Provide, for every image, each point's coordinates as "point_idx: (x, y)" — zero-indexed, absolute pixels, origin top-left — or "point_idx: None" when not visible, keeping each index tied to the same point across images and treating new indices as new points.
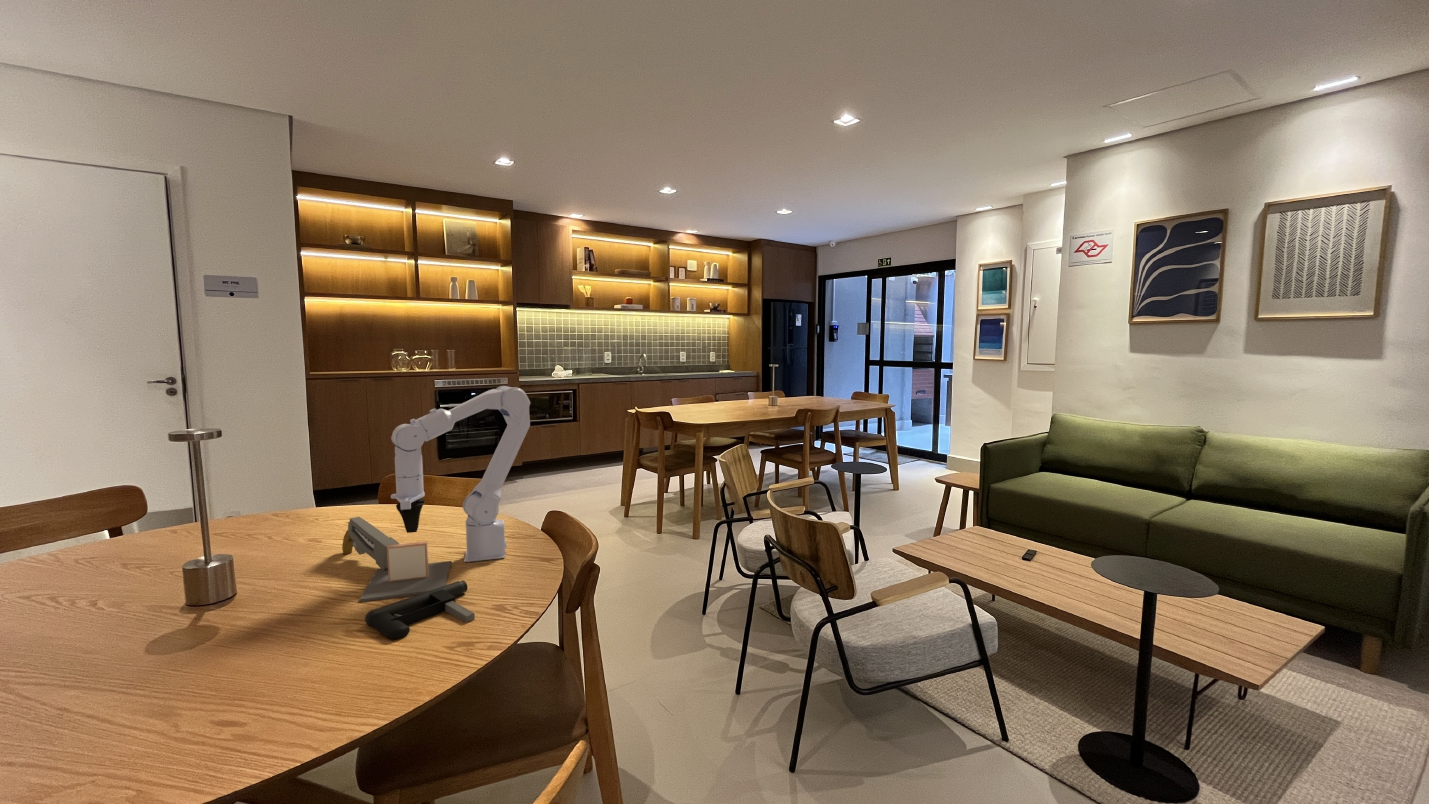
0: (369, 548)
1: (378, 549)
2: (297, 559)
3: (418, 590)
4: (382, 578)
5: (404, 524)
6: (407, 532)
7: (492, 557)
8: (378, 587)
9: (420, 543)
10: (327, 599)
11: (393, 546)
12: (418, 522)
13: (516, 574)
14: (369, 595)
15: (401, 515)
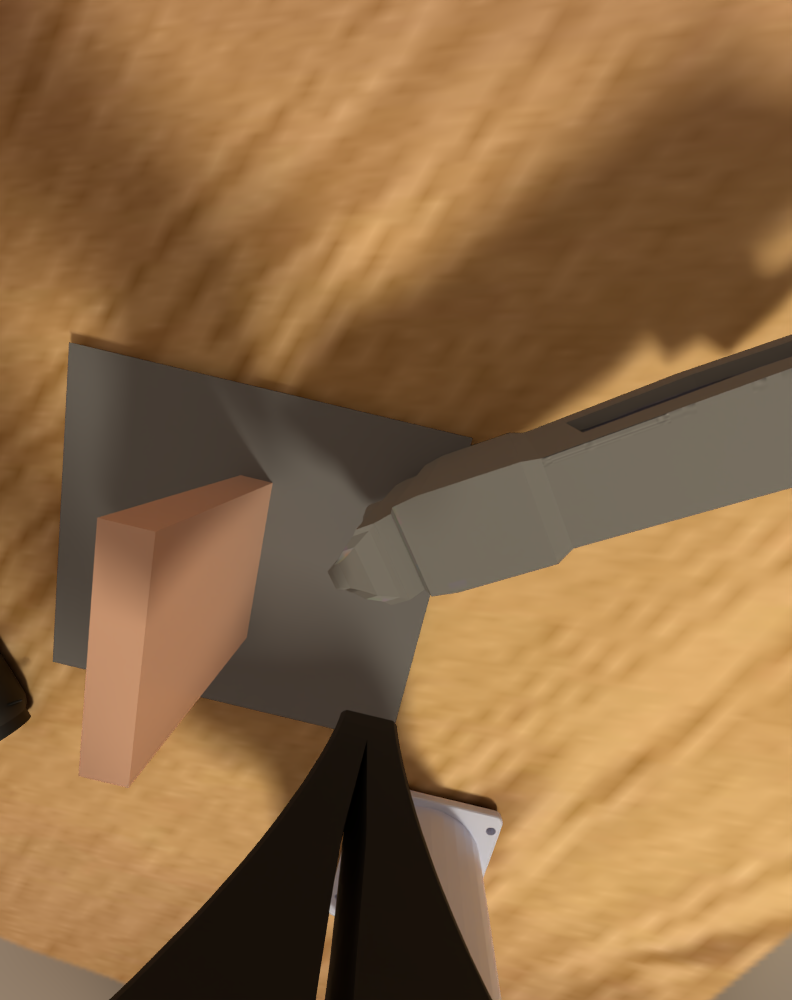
0: (654, 401)
1: (492, 455)
2: None
3: (74, 577)
4: (305, 452)
5: (312, 771)
6: (341, 715)
7: (336, 876)
8: (187, 428)
9: (91, 742)
10: (181, 199)
11: (96, 566)
12: (337, 890)
13: (132, 886)
14: (101, 386)
15: (203, 905)
